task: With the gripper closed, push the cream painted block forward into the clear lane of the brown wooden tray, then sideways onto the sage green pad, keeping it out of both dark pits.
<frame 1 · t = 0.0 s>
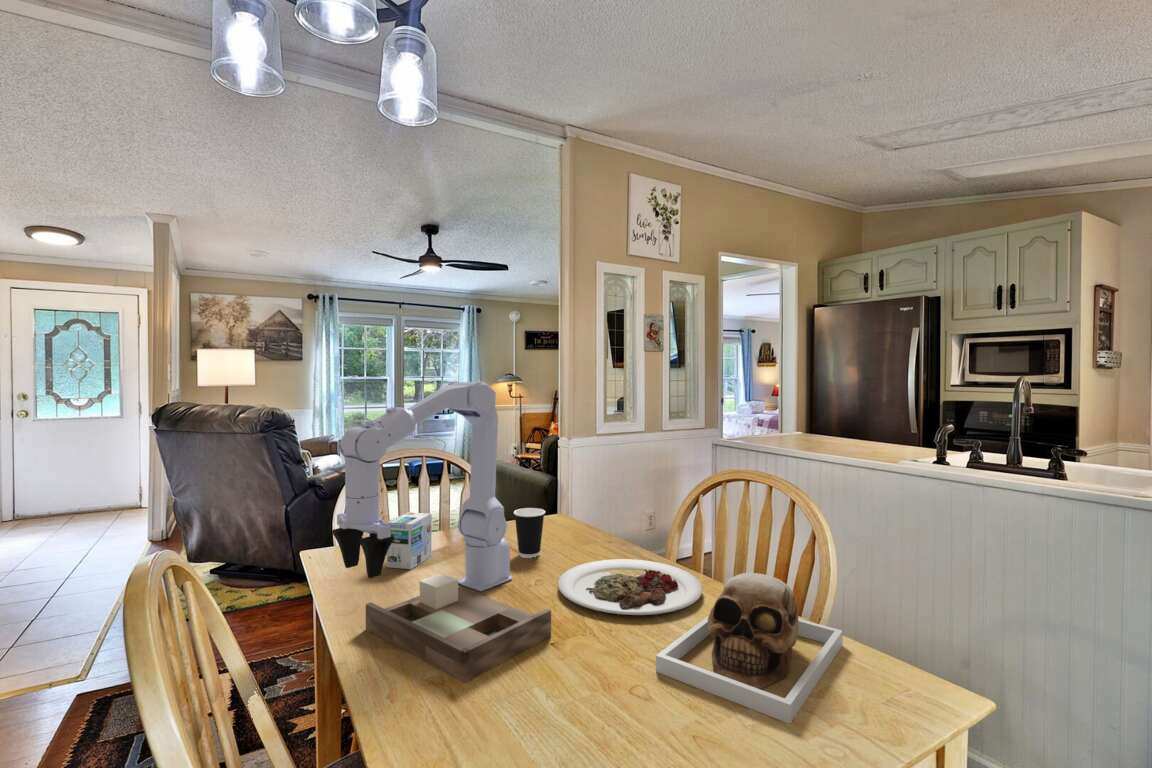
hand: (362, 571, 98), 10 cm above the table, tool pointing down, fingers open, 7 cm apart
dixie cup: (529, 555, 138), on the table
plated food: (629, 592, 116), on the table
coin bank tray: (753, 657, 88), on the table
light bulb box: (409, 562, 133), on the table
brown skull figurine: (753, 660, 88), resting in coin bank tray
cream block: (438, 601, 103), point 2 cm above the table, touching brown wooden tray
brown wooden tray: (457, 632, 96), on the table
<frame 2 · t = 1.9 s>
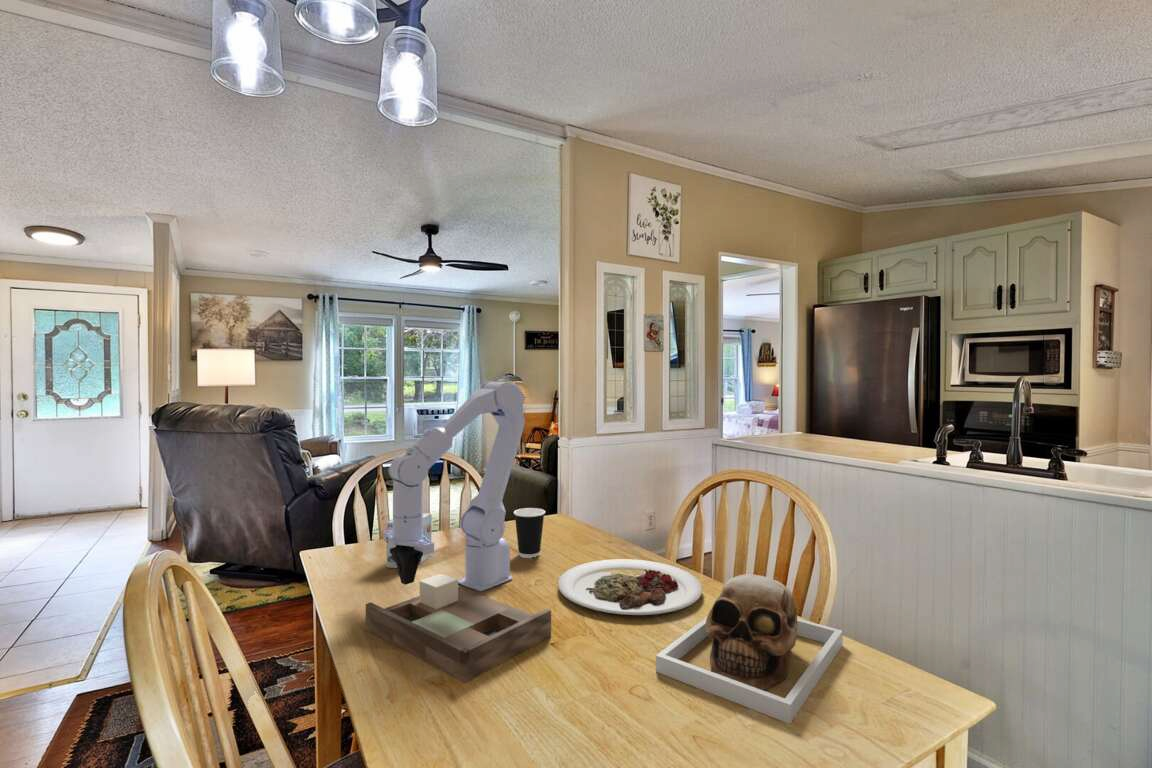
hand: (407, 582, 110), 4 cm above the table, tool pointing down, fingers closed
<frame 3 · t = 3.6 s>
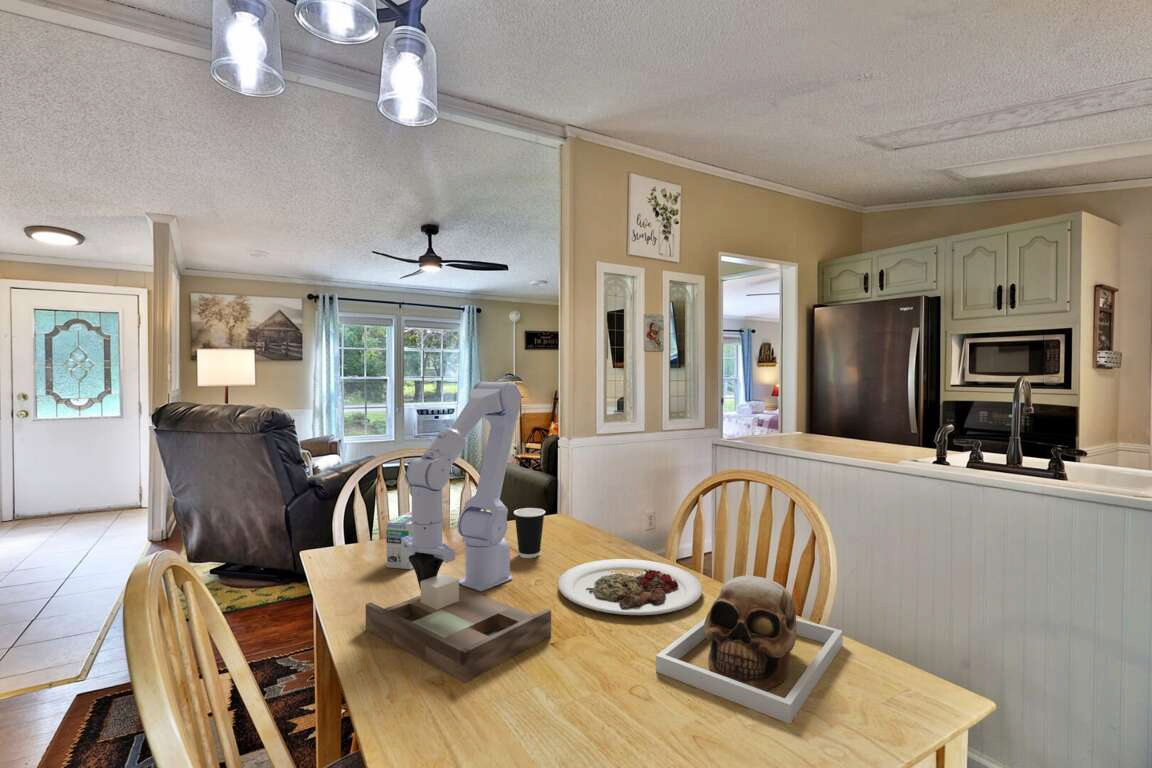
hand: (427, 591, 106), 4 cm above the table, tool pointing down, fingers closed
cream block: (439, 601, 103), point 3 cm above the table, touching gripper
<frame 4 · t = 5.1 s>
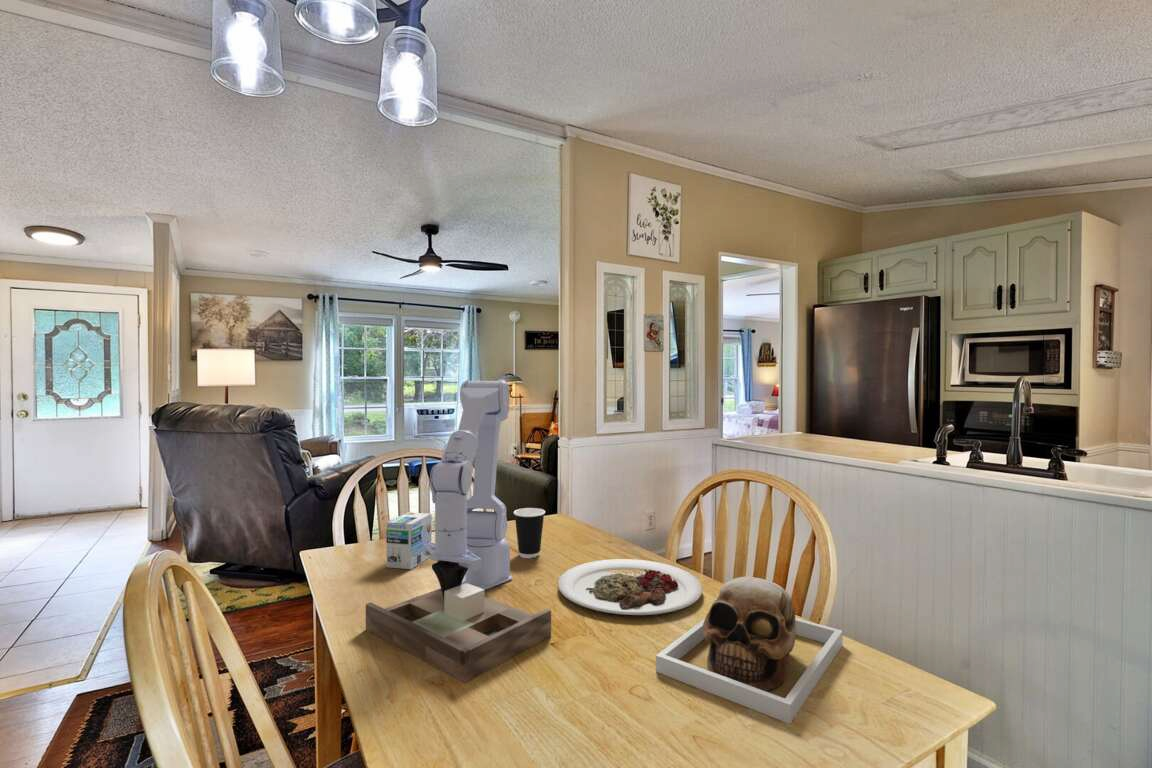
hand: (450, 600, 101), 4 cm above the table, tool pointing down, fingers closed
cream block: (464, 612, 99), point 2 cm above the table, touching gripper, brown wooden tray
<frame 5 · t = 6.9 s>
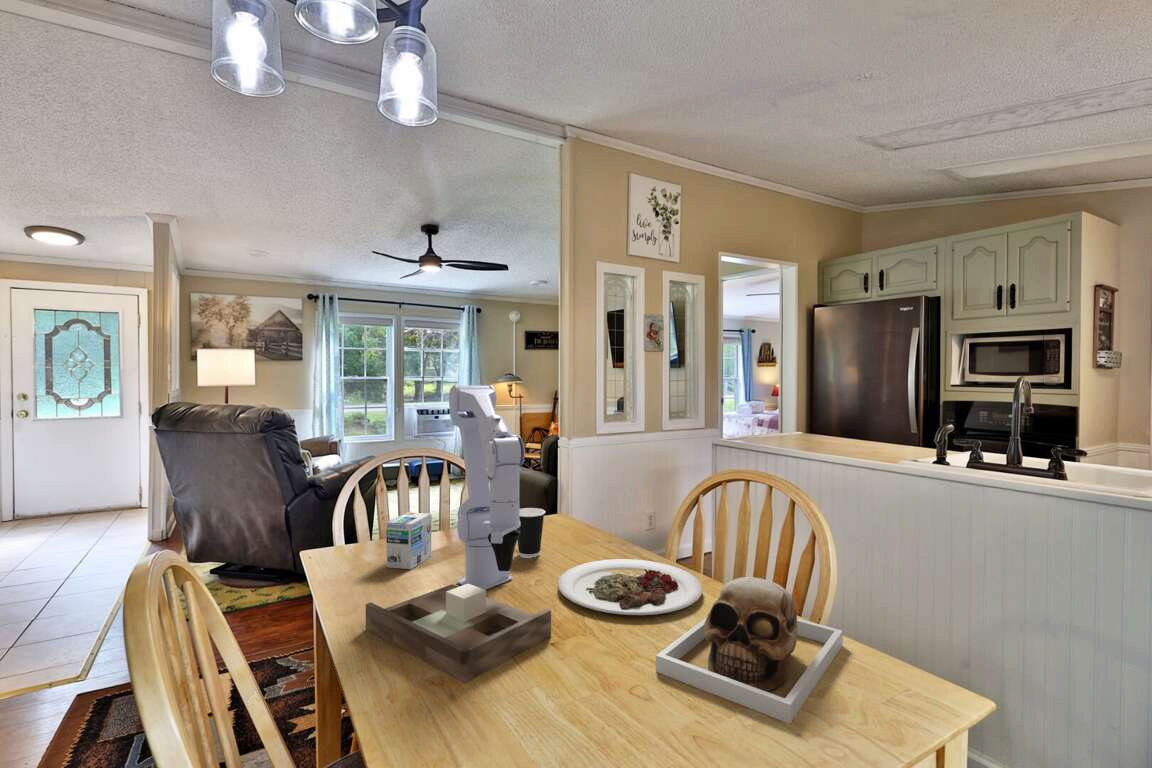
hand: (504, 570, 106), 8 cm above the table, tool pointing down, fingers closed
cream block: (466, 613, 98), point 2 cm above the table, touching brown wooden tray
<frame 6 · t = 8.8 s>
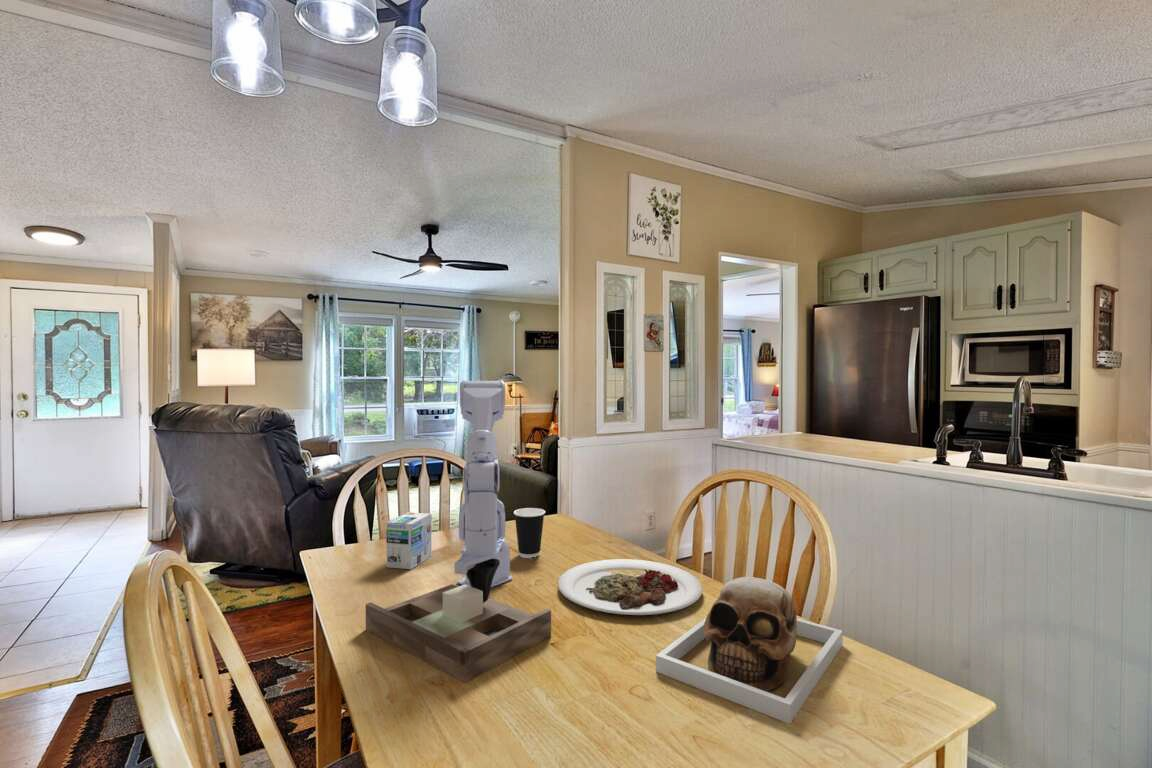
hand: (481, 600, 101), 4 cm above the table, tool pointing down, fingers closed
brown skull figurine: (750, 666, 86), resting in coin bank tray
cream block: (462, 614, 98), point 3 cm above the table, touching gripper
everything else where it was.
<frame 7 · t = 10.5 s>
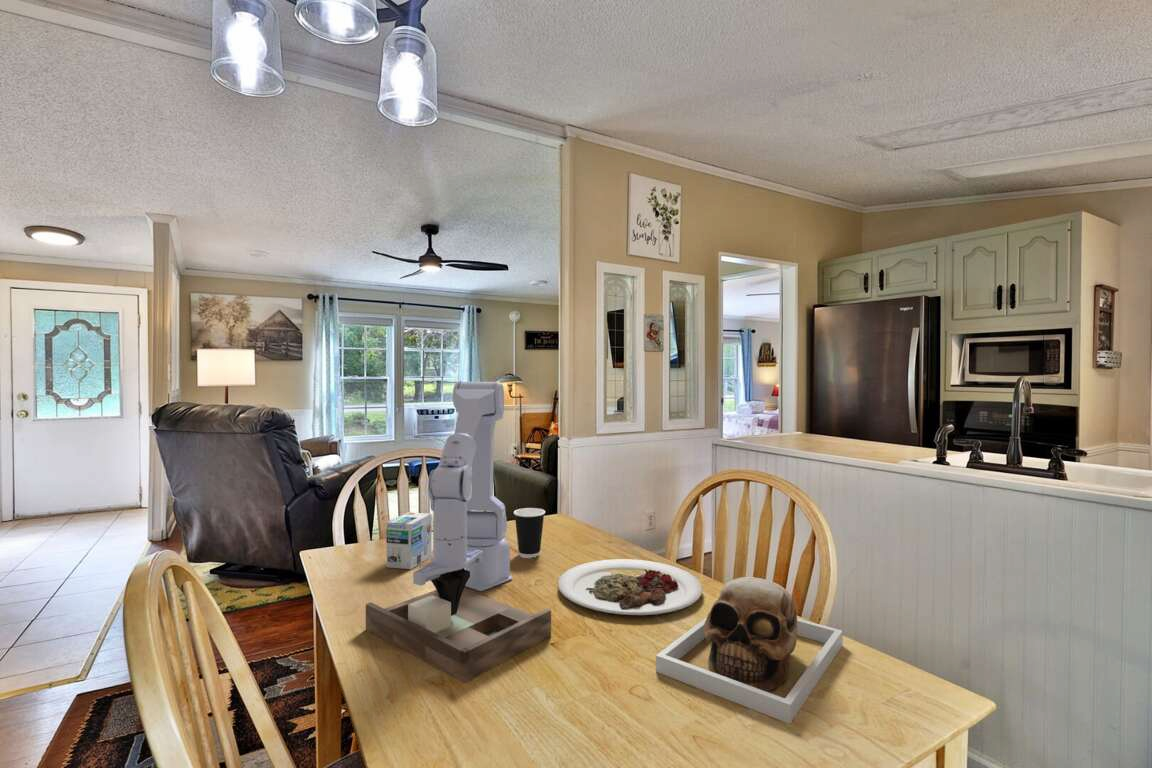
hand: (450, 613, 96), 4 cm above the table, tool pointing down, fingers closed
brown skull figurine: (751, 666, 86), resting in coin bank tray
cream block: (429, 626, 93), point 2 cm above the table, touching gripper, brown wooden tray
everything else where it was.
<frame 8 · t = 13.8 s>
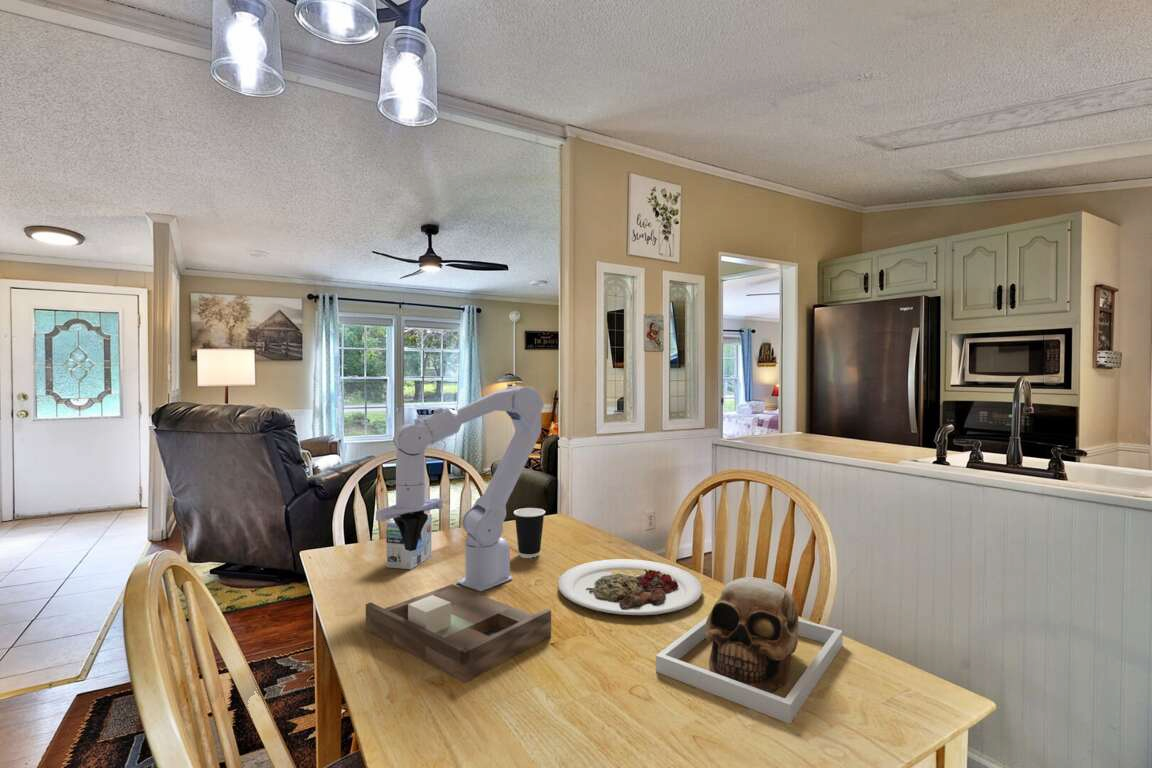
hand: (410, 549, 112), 9 cm above the table, tool pointing down, fingers closed
cream block: (429, 626, 93), point 2 cm above the table, touching brown wooden tray
everything else where it was.
at the end: cream block inside the target area (0.8 cm from its centre), point 2.5 cm above the table; cream block tilted 0° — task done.
